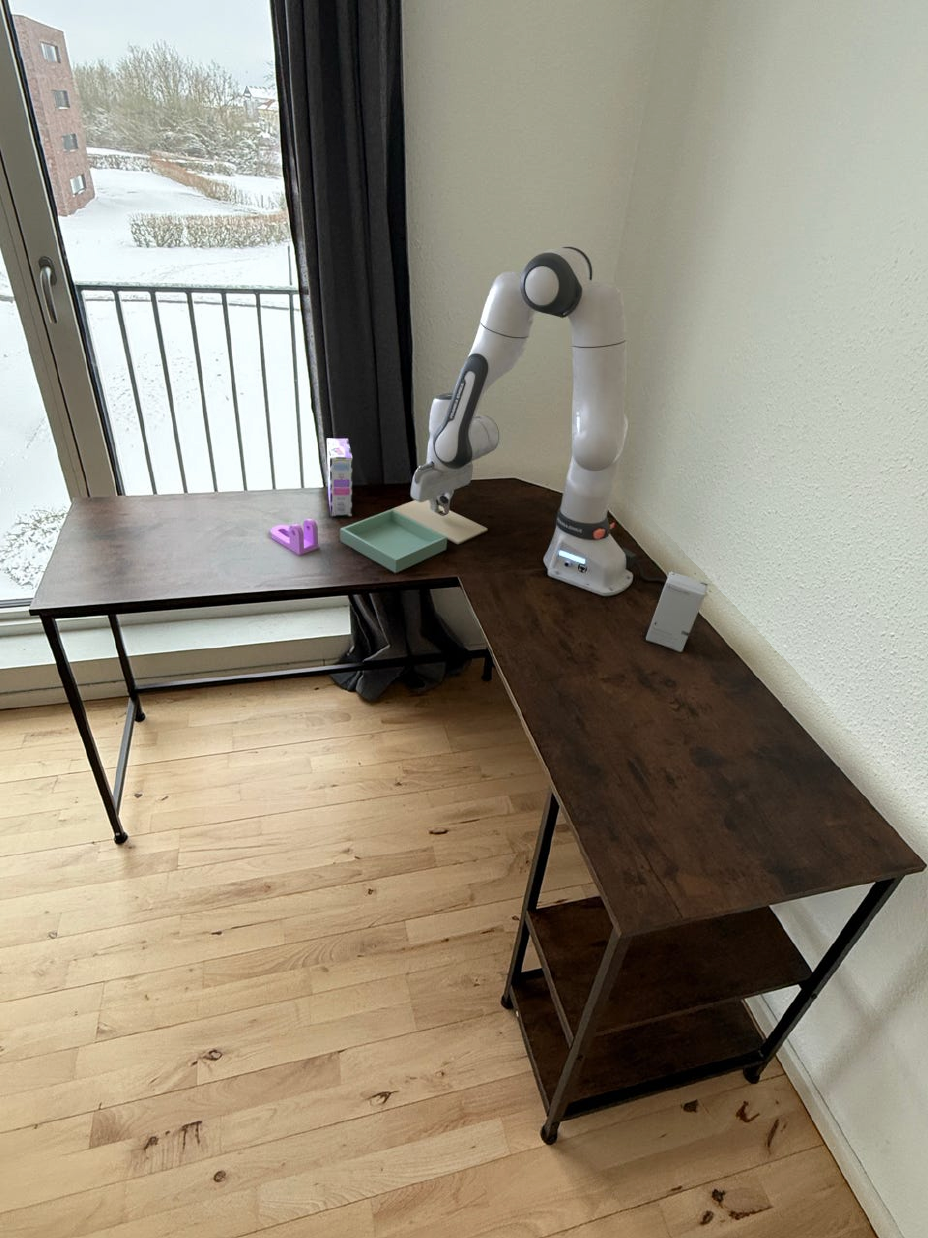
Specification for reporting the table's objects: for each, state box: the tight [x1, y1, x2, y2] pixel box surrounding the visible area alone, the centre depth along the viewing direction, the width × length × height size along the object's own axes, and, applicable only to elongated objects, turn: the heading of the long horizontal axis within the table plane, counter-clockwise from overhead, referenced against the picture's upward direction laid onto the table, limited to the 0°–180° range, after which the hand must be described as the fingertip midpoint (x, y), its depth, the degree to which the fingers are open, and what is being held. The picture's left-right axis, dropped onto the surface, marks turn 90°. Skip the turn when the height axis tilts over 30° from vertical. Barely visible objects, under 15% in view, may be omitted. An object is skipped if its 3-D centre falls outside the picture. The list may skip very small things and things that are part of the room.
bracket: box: [270, 518, 319, 556], centre depth 161 cm, size 13×6×7 cm, turn 49°
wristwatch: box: [435, 494, 450, 516], centre depth 177 cm, size 4×6×5 cm, turn 43°
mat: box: [392, 499, 489, 545], centre depth 180 cm, size 24×12×1 cm, turn 49°
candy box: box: [326, 437, 353, 517], centre depth 177 cm, size 14×6×16 cm, turn 12°
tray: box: [339, 508, 448, 574], centre depth 165 cm, size 20×18×4 cm
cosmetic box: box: [645, 571, 709, 653], centre depth 140 cm, size 8×6×15 cm
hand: (439, 507), depth 178 cm, fingers closed on wristwatch, 3 cm apart
